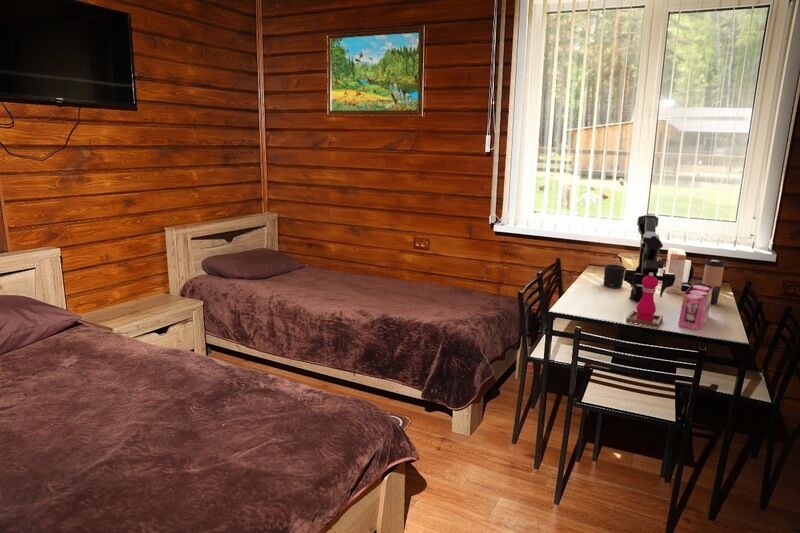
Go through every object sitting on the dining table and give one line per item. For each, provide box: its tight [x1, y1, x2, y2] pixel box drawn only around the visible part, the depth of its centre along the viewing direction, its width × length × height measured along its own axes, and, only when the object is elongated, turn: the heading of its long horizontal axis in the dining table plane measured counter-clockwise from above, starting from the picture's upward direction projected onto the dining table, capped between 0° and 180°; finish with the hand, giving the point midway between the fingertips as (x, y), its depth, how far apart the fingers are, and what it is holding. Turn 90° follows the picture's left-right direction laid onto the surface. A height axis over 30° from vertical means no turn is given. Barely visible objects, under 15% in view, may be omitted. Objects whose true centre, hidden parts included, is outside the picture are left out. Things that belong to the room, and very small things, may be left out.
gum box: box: [678, 282, 713, 331], centre depth 227 cm, size 24×8×14 cm, turn 144°
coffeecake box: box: [664, 247, 687, 295], centre depth 276 cm, size 15×7×20 cm, turn 159°
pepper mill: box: [635, 272, 659, 322], centre depth 225 cm, size 7×7×20 cm
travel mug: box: [701, 257, 726, 305], centre depth 255 cm, size 8×8×20 cm
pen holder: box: [603, 264, 626, 289], centre depth 279 cm, size 9×9×10 cm
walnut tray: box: [625, 310, 664, 329], centre depth 227 cm, size 12×12×2 cm
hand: (648, 295), depth 223 cm, fingers open, 9 cm apart
